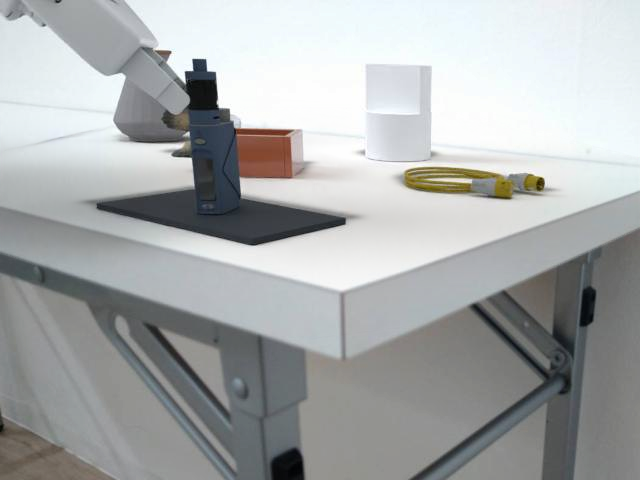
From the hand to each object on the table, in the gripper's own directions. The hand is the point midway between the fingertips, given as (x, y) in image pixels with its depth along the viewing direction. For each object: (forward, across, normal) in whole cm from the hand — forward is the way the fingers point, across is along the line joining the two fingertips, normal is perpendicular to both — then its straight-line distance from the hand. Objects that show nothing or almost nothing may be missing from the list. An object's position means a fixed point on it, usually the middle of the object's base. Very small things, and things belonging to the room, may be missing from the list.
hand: (186, 104), depth 59 cm
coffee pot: (+2, +65, +11) cm, 66 cm away
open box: (+11, +26, +2) cm, 28 cm away
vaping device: (+8, 0, +5) cm, 9 cm away
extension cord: (+26, +12, -13) cm, 31 cm away
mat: (+8, 0, +5) cm, 9 cm away
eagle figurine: (+7, +42, +6) cm, 43 cm away
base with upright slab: (+25, +37, -12) cm, 46 cm away
